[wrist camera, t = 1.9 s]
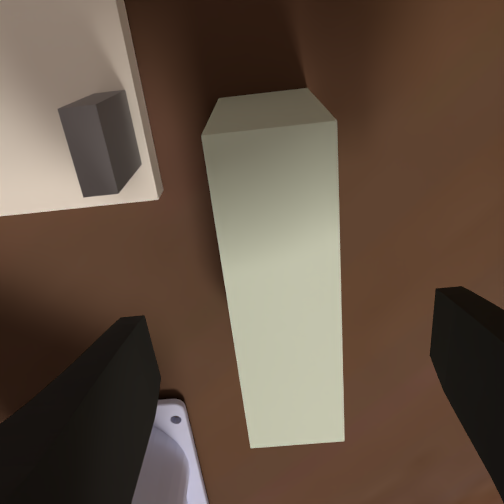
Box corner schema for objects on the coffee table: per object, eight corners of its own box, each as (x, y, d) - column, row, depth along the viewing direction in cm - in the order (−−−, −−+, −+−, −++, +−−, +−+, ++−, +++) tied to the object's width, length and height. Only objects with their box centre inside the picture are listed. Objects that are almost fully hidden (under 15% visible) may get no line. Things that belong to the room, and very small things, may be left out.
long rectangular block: (319, 327, 20) (344, 440, 14) (251, 333, 20) (250, 448, 14) (306, 87, 15) (337, 120, 10) (219, 97, 15) (201, 135, 10)
